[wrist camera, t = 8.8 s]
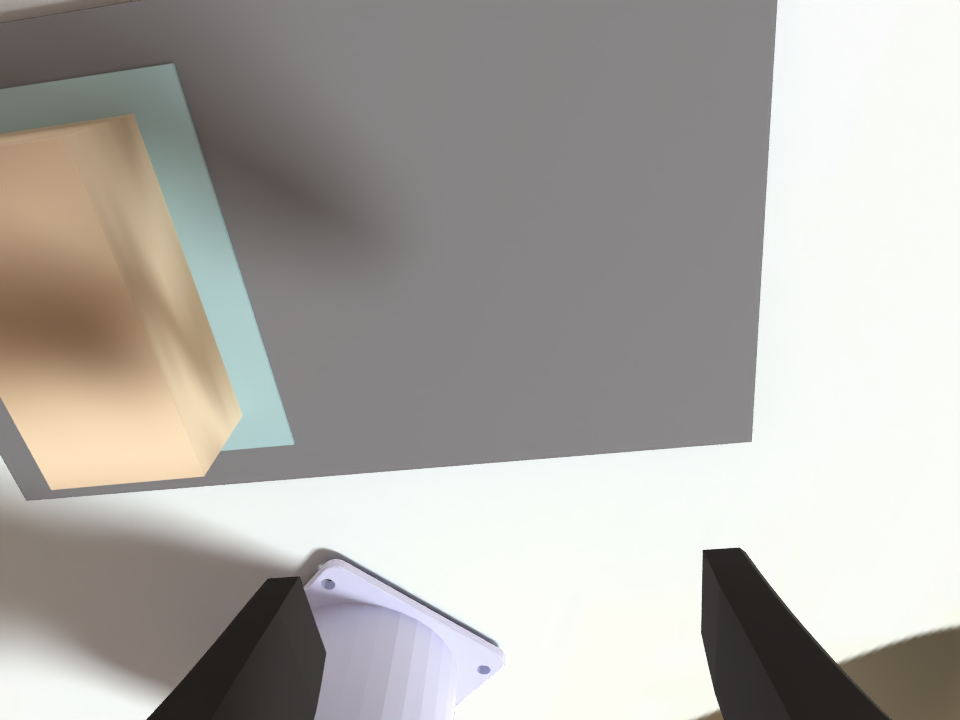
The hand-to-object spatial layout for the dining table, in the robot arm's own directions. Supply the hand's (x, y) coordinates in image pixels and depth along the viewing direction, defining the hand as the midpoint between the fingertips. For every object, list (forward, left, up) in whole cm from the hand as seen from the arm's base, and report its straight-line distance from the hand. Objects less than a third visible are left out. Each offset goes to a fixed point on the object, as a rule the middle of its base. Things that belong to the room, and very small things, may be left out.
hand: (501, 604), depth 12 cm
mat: (-1, +6, -9) cm, 11 cm away
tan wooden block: (-5, +10, -9) cm, 14 cm away
